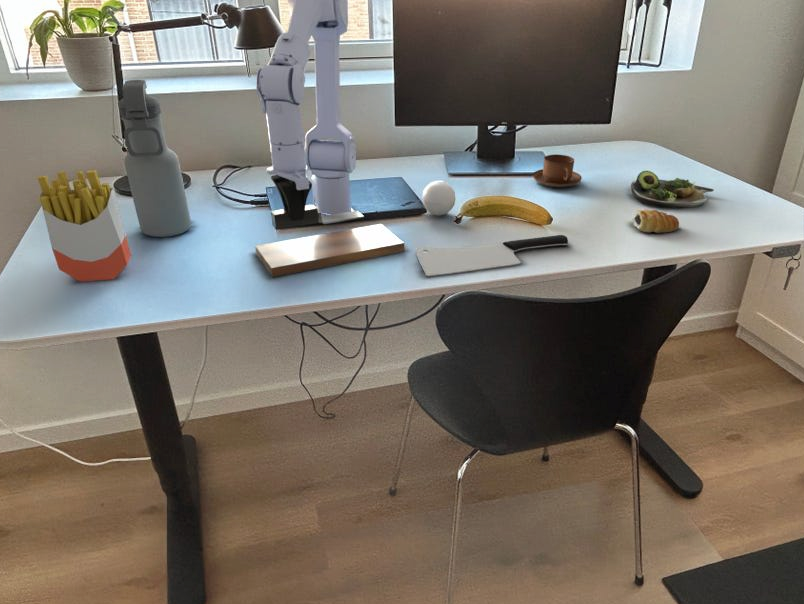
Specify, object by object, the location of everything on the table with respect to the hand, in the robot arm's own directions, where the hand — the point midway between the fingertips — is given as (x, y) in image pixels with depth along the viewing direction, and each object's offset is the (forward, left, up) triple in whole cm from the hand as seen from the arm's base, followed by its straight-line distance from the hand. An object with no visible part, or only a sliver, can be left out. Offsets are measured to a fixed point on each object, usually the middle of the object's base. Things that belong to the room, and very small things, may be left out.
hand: (295, 216), depth 120 cm
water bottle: (-25, -20, -8) cm, 33 cm away
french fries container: (-8, -34, -8) cm, 36 cm away
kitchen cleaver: (+16, +34, -8) cm, 39 cm away
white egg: (-9, +33, -8) cm, 35 cm away
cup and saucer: (-15, +71, -8) cm, 73 cm away
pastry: (+18, +72, -8) cm, 75 cm away
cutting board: (+1, +6, -8) cm, 10 cm away
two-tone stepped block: (+1, +4, -1) cm, 5 cm away
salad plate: (+4, +89, -8) cm, 90 cm away
